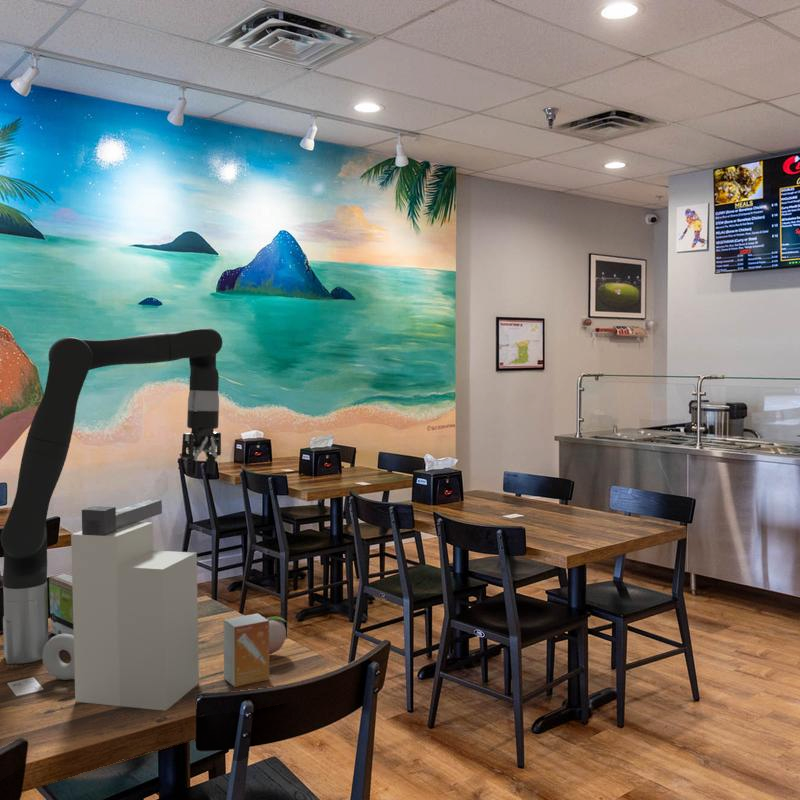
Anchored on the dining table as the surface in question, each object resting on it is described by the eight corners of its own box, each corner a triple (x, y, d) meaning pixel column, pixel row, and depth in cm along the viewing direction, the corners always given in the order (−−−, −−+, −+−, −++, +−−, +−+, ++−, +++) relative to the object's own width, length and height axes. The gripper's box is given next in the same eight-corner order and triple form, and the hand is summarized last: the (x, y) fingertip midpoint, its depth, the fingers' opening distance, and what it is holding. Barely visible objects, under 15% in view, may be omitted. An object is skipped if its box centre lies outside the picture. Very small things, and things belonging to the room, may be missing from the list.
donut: (39, 681, 176) (38, 635, 175) (48, 675, 179) (47, 630, 179) (83, 683, 175) (82, 637, 174) (91, 677, 178) (90, 632, 177)
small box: (234, 688, 172) (233, 626, 171) (223, 678, 177) (222, 619, 176) (270, 679, 176) (269, 619, 175) (258, 670, 181) (257, 612, 181)
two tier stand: (114, 675, 179) (111, 520, 177) (199, 683, 174) (196, 524, 173) (75, 701, 165) (71, 534, 164) (165, 710, 161) (162, 538, 159)
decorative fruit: (253, 666, 184) (253, 622, 183) (242, 654, 191) (241, 612, 191) (293, 658, 188) (292, 615, 188) (280, 647, 196) (280, 606, 195)
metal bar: (145, 512, 186) (145, 490, 186) (165, 513, 185) (165, 491, 185) (82, 534, 163) (81, 509, 163) (104, 535, 162) (104, 510, 162)
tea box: (49, 634, 206) (47, 575, 206) (86, 624, 214) (85, 568, 213) (79, 647, 197) (77, 586, 196) (117, 636, 204) (116, 577, 204)
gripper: (205, 409, 212) (203, 472, 211) (173, 408, 198) (171, 475, 198) (231, 409, 209) (229, 473, 209) (201, 409, 196) (199, 477, 196)
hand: (201, 474), depth 204 cm, fingers open, 8 cm apart
